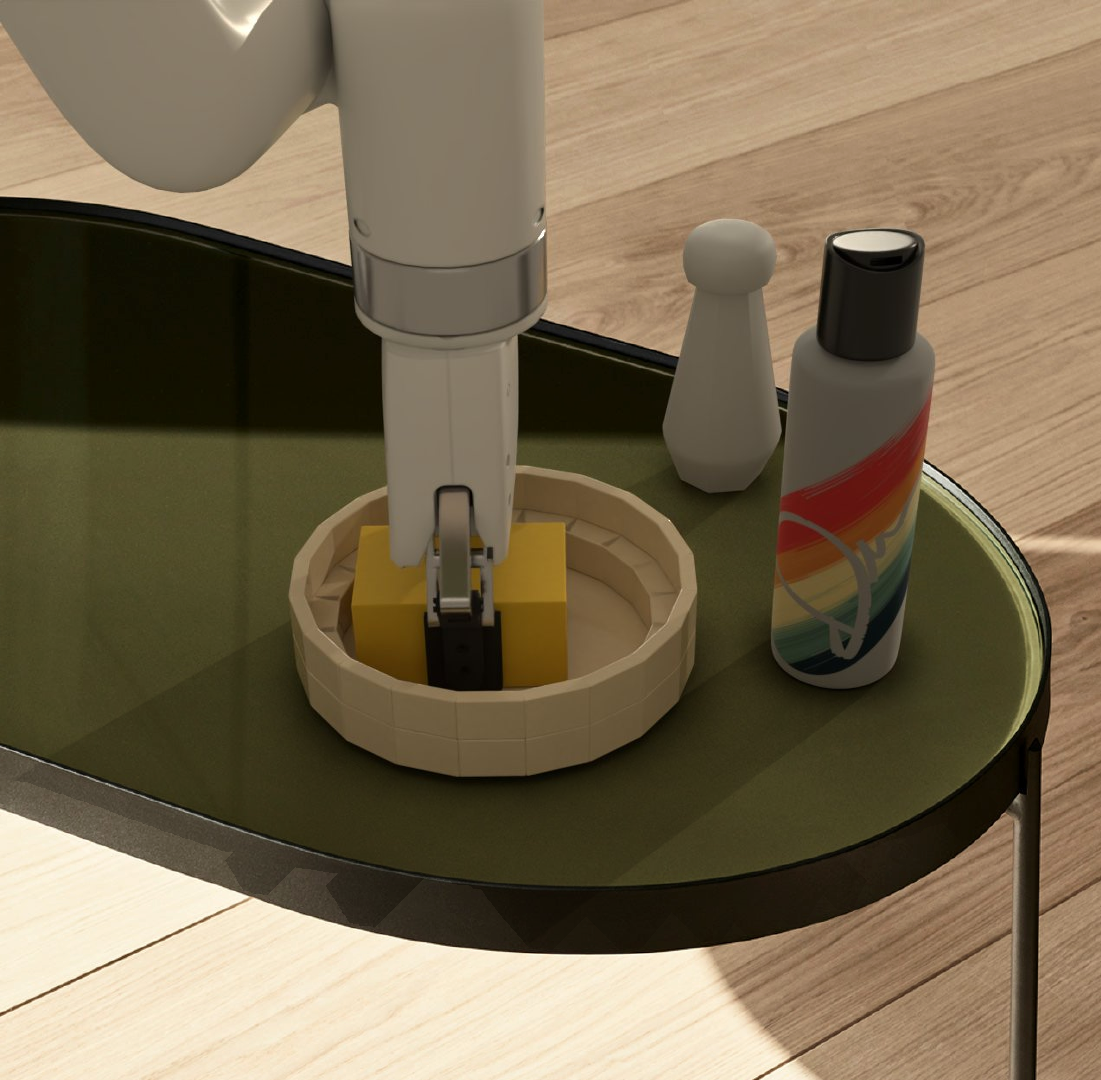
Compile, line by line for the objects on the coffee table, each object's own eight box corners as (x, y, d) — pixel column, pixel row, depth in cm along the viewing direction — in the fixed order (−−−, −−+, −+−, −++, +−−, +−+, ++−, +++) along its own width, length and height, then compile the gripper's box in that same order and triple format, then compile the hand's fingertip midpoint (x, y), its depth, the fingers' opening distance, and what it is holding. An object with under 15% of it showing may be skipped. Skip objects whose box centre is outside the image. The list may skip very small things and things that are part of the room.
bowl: (281, 789, 82) (270, 704, 79) (316, 547, 95) (308, 467, 92) (705, 783, 82) (709, 698, 79) (680, 543, 95) (683, 462, 92)
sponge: (359, 690, 86) (350, 605, 83) (368, 607, 91) (360, 525, 88) (567, 686, 86) (566, 602, 83) (566, 604, 91) (565, 521, 88)
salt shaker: (748, 431, 103) (763, 195, 95) (797, 488, 99) (816, 246, 90) (643, 454, 101) (648, 215, 93) (688, 512, 97) (698, 268, 89)
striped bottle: (787, 698, 86) (822, 274, 73) (756, 621, 90) (784, 208, 78) (914, 684, 87) (971, 262, 74) (877, 608, 91) (925, 196, 78)
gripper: (367, 174, 83) (394, 533, 95) (334, 383, 70) (370, 771, 82) (546, 172, 83) (552, 531, 95) (548, 381, 70) (554, 768, 82)
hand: (468, 639), depth 88 cm, fingers closed on sponge, 6 cm apart
